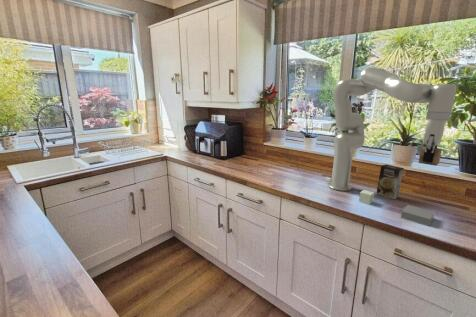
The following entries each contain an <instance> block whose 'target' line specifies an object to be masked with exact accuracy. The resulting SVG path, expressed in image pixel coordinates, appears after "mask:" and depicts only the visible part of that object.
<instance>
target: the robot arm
mask: <svg viewBox="0 0 476 317" xmlns="http://www.w3.org/2000/svg"><path fill="white" fill-rule="evenodd" d="M375 90H377V91H381V92H383V93H385V94H386V95H388V96H390V97H392V98H394V99H397V100H400V101H403V102H405V103H409V104H427V103H428V106H427V112H426V116H425V121H427V122H426V123H427V124H426V126H425V127H426V128H425V130H424V131H425V132H424V135H423V137H422V138H423V139H422V145H426V146H425V147H426V149H425V152H424V156H423V162H429V163H432V162H433V157H434V149H435V148H438V146H439V145H440V144H441V142H442V139H443V135H444V131H445V127H446V126H445V125H446V122H450V121H451V115H452V111H453V106H454V102H455V97H456V92H457V86H456V85H455V84H453V83H440V84H435V85H434V84H424V83H416V82H415V83H414V82H411V81H407V80H404V79H401V78H400V77H399V75H398V74H396V73H393V72H389V71H387V70H386V69H384V68H381V67H380V68H379V67H368V68H365V69H363V70H362V71H361V73H360V74H359V79H356V78H344V79H342V80H340V81H338V82H337V83H336V85H335V86H334V89H333V92H332V93H333V94H332V97H333V101H334V114H335V115H334V116H335V127H336V129H338V130H339V131H348V132H342V133H339V134H337V135H336V136H335V137H334V140H333V147H334V148H333V150H334V154H333V155H334V156H333V164H332V172H331V177H329V176H326V177H325V178H324V180H325V182H329V183H328V184H327V186H328V188H330V189H332V190H335V191H341V192H347V191H348V192H349V191H351V190H352V188H353V187H352V186H351V184H350V178H351V171H352V164H353V154H352V150H358V149H360V148H362V147H363V146H364V144H365V123H364V122H365V121H364V118H363V116H362V115H361V114H359V113H357V112H353V109H352V107H353V106H352V102H351V100H350V98H349V96H352V97H353V96H357V97H361V96H364V95H367V94H369V93H371V92H372V91H375ZM432 148H433V149H432Z"/></svg>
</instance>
